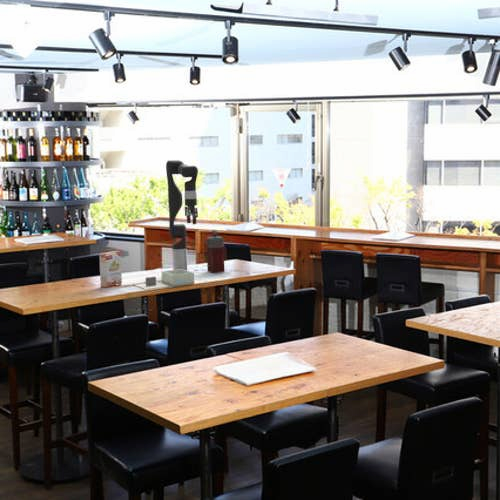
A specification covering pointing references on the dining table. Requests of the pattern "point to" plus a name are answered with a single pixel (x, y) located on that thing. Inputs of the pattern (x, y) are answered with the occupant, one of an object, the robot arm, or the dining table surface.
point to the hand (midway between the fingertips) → (191, 223)
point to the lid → (151, 284)
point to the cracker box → (110, 268)
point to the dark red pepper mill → (215, 253)
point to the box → (178, 277)
